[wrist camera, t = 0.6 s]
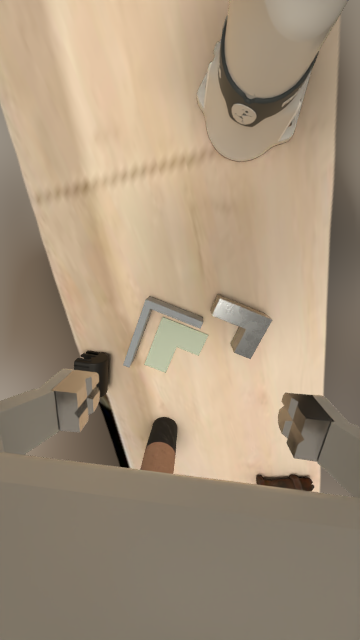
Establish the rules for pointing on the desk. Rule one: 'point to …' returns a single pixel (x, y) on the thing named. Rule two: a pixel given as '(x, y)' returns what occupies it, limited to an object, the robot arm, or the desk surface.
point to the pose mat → (173, 343)
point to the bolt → (288, 483)
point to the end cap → (95, 367)
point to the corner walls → (164, 309)
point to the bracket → (242, 324)
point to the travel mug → (161, 447)
